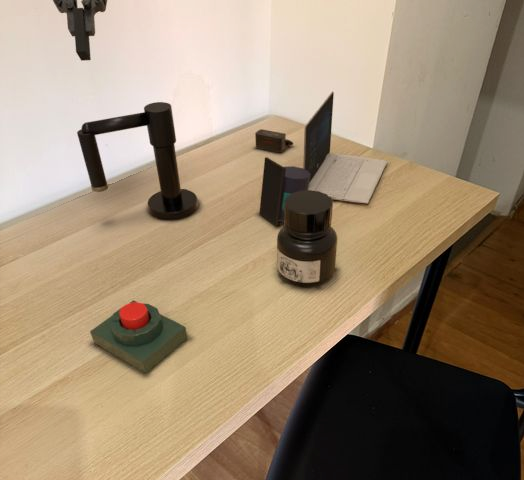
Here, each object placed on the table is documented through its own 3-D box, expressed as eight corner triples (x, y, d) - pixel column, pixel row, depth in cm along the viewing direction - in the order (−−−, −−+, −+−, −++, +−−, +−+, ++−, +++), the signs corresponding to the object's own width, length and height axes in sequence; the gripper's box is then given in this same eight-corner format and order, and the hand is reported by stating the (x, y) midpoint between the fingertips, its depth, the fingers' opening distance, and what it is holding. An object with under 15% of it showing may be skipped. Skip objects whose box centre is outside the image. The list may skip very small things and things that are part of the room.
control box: (93, 343, 72) (86, 321, 70) (136, 311, 77) (130, 289, 74) (145, 373, 68) (140, 351, 65) (187, 338, 73) (183, 316, 70)
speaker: (267, 229, 91) (271, 170, 85) (259, 214, 95) (262, 157, 89) (309, 226, 93) (316, 168, 86) (298, 211, 97) (305, 155, 91)
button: (116, 323, 70) (113, 313, 68) (136, 308, 72) (133, 298, 70) (135, 333, 68) (132, 323, 67) (155, 318, 70) (152, 308, 69)
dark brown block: (284, 154, 113) (284, 139, 110) (254, 148, 115) (254, 133, 113) (293, 146, 116) (293, 131, 113) (264, 140, 118) (264, 125, 116)
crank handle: (176, 166, 95) (167, 100, 87) (183, 176, 93) (174, 109, 84) (89, 184, 91) (71, 116, 83) (94, 195, 88) (75, 126, 80)
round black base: (138, 211, 97) (125, 147, 89) (172, 191, 102) (162, 128, 94) (174, 225, 93) (164, 160, 85) (207, 204, 99) (200, 140, 90)
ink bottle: (264, 270, 83) (261, 200, 75) (303, 247, 87) (305, 179, 79) (309, 298, 78) (312, 226, 70) (348, 272, 82) (355, 202, 74)
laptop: (367, 206, 96) (376, 135, 87) (301, 196, 100) (303, 126, 91) (387, 164, 108) (396, 97, 99) (327, 155, 112) (331, 90, 103)
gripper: (120, -85, 85) (130, 66, 87) (38, -83, 85) (49, 68, 86) (109, -124, 78) (120, 42, 79) (19, -122, 77) (31, 44, 78)
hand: (83, 56), depth 83 cm, fingers closed
